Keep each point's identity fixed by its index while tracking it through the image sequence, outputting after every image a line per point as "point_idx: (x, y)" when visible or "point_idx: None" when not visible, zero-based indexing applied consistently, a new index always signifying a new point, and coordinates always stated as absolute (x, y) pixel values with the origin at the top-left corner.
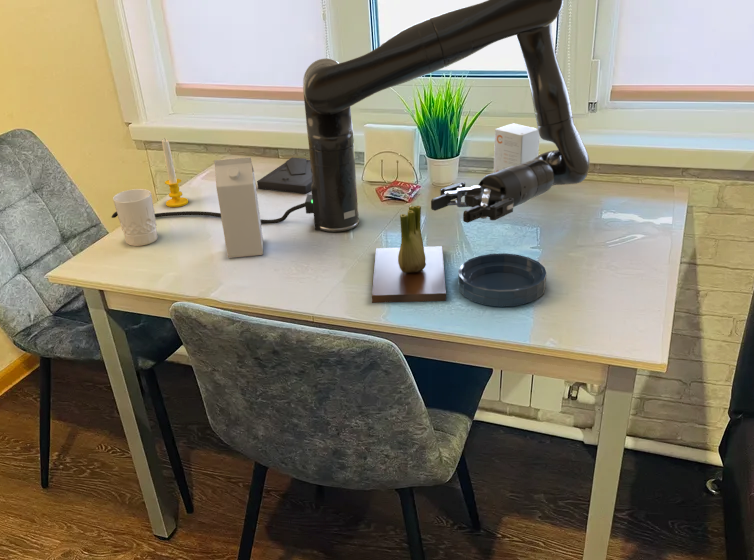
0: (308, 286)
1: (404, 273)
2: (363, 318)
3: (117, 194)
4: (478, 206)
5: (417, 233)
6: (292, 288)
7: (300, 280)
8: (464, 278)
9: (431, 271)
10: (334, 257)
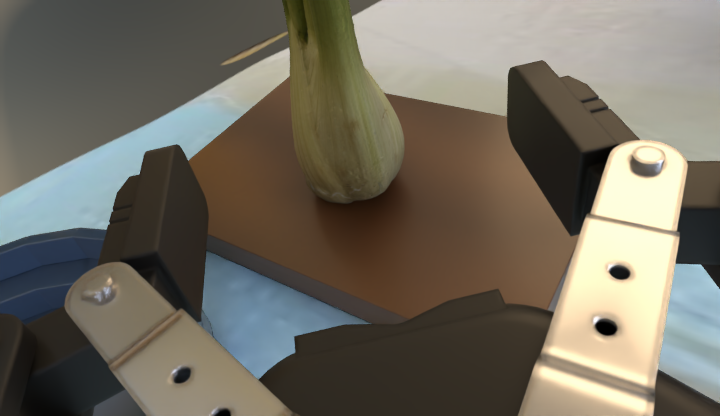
0: (475, 23)
1: None
2: (248, 73)
3: None
4: (134, 245)
5: (311, 54)
6: (484, 5)
7: (520, 15)
8: (91, 236)
9: (299, 223)
10: (652, 76)
